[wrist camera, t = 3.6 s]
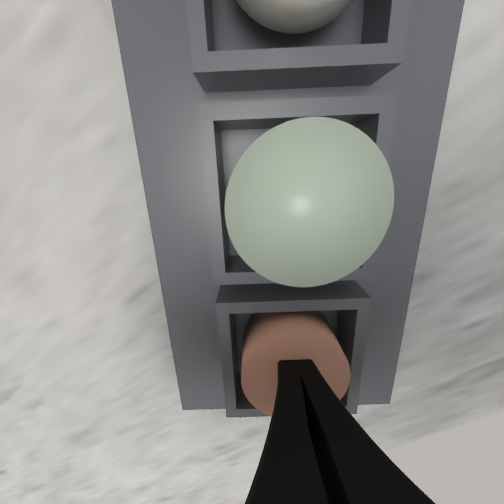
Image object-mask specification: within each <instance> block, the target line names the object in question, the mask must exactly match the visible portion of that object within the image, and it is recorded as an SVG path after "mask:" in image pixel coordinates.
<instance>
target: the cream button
mask: <svg viewBox="0 0 504 504" xmlns="http://www.w3.org/2000/svg"><path fill="white" fill-rule="evenodd" d="M353 1H354V0H236V2H237V3H238V4H239V6H240V7H241V8H242V9H243V10H244V11H245V12H246V13H247V14H248V15H249V16H250V17H251V18H252V19H254V20H255V21H256V22H257V23H259V24H261V25H262V26H264V27H266V28H268V29H271V30H274V31H276V32H281V33H286V34H299V33H306V32H310V31H313V30H316V29H319V28H321V27H323V26H325V25H327V24H328V23H330V22H331V21H333V20H335V19H336V18H337V17H338V16H339V15H341V14H342V13H343V12H344V11H345V10H346V9H347V8H348V7H349V6H350V4H351V3H352V2H353Z"/></svg>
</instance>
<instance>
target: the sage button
mask: <svg viewBox="0 0 504 504" xmlns="http://www.w3.org/2000/svg"><path fill="white" fill-rule="evenodd" d="M393 208H394V184H393V179H392V174H391V171H390V168H389V165H388V163H387V161H386V159H385V157H384V155H383V153H382V152H381V150H380V149H379V148H378V146H377V145H376V144H375V143H374V142H373V141H372V140H371V138H370V137H369V136H368V135H366V134H365V133H363V132H362V131H361V130H359V129H358V128H356V127H354V126H352V125H350V124H348V123H346V122H343V121H340V120H337V119H333V118H327V117H305V118H298V119H294V120H291V121H287V122H285V123H282V124H280V125H278V126H275V127H274V128H272V129H270V130H269V131H267V132H265V133H264V134H263V135H261V136H260V137H259V138H258V139H256V140H255V141H254V142H253V143H252V144H251V145H250V146H249V147H248V148H247V149H246V151H245V152H244V153H243V155H242V156H241V157H240V159H239V160H238V162H237V164H236V166H235V168H234V169H233V172H232V174H231V177H230V179H229V182H228V186H227V190H226V196H225V220H226V226H227V230H228V234H229V237H230V239H231V241H232V244H233V246H234V247H235V249H236V251H237V252H238V254H239V255H240V257H241V258H242V259H243V260H244V262H245V263H246V264H247V265H248V266H249V267H250V268H251V269H253V270H254V271H255V272H257V273H258V274H259V275H261V276H263V277H265V278H267V279H268V280H271V281H273V282H276V283H279V284H282V285H286V286H293V287H314V286H320V285H325V284H328V283H331V282H334V281H337V280H339V279H341V278H343V277H345V276H347V275H348V274H350V273H352V272H353V271H355V270H356V269H357V268H359V267H360V266H361V265H362V264H363V263H364V262H366V261H367V260H368V259H369V258H370V257H371V255H372V254H373V253H374V252H375V250H376V249H377V248H378V246H379V245H380V243H381V241H382V240H383V238H384V236H385V234H386V232H387V230H388V227H389V224H390V221H391V218H392V213H393Z"/></svg>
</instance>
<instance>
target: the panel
mask: <svg viewBox="0 0 504 504" xmlns="http://www.w3.org/2000/svg"><path fill="white" fill-rule="evenodd" d="M111 1H112V7H113V12H114V18H115V24H116V30H117V35H118V41H119V47H120V53H121V58H122V64H123V70H124V76H125V81H126V87H127V93H128V99H129V104H130V110H131V116H132V122H133V127H134V133H135V139H136V145H137V150H138V156H139V162H140V168H141V173H142V179H143V185H144V191H145V196H146V202H147V208H148V214H149V219H150V225H151V231H152V237H153V242H154V248H155V254H156V260H157V265H158V271H159V277H160V282H161V288H162V294H163V300H164V305H165V311H166V317H167V323H168V328H169V334H170V340H171V346H172V351H173V357H174V363H175V369H176V374H177V380H178V386H179V392H180V397H181V403H182V409H183V410H194V409H226V417H258V416H269V415H267V414H265V413H263V412H261V411H259V410H258V409H257V408H255V407H254V406H253V405H252V404H251V403H250V402H249V400H248V399H247V398H246V396H245V394H244V392H243V389H242V384H241V370H242V350H243V335H244V331H245V328H246V326H247V324H248V322H249V321H250V319H251V318H252V317H253V316H254V315H255V314H256V313H269V312H298V311H319V312H321V313H322V314H323V315H324V317H325V318H326V319H327V321H328V323H329V325H330V327H331V329H332V331H333V333H334V335H335V337H336V339H337V341H338V343H339V345H340V347H341V349H342V350H343V352H344V354H345V356H346V358H347V360H348V363H349V366H350V372H351V375H350V383H349V386H348V389H347V391H346V393H345V394H344V396H343V397H342V398H341V400H340V401H341V402H342V404H343V405H344V406H345V408H346V409H347V410H348V411H349V413H350V414H357V406H358V405H362V404H390V399H391V394H392V389H393V383H394V378H395V373H396V367H397V362H398V356H399V351H400V346H401V340H402V335H403V329H404V324H405V319H406V313H407V308H408V302H409V297H410V292H411V286H412V281H413V275H414V270H415V265H416V259H417V254H418V249H419V243H420V238H421V232H422V227H423V222H424V216H425V211H426V205H427V200H428V195H429V189H430V184H431V178H432V173H433V168H434V162H435V157H436V151H437V146H438V141H439V135H440V130H441V124H442V119H443V114H444V108H445V103H446V98H447V92H448V87H449V81H450V76H451V71H452V65H453V60H454V54H455V49H456V44H457V38H458V33H459V27H460V22H461V17H462V11H463V6H464V0H354V1H353V2H352V3H351V4H350V6H349V7H348V8H347V9H346V10H345V11H344V12H343V13H342V14H341V15H339V16H338V17H337V18H336V19H335V20H333V21H331V22H330V23H328V24H327V25H325V26H323V27H321V28H319V29H316V30H313V31H310V32H306V33H299V34H286V33H281V32H276V31H274V30H271V29H268V28H266V27H264V26H262V25H261V24H259V23H257V22H256V21H255V20H254V19H252V18H251V17H250V16H249V15H248V14H247V13H246V12H245V11H244V10H243V9H242V8H241V7H240V6H239V4H238V3H237V2H236V0H111ZM305 117H327V118H333V119H337V120H340V121H343V122H346V123H348V124H350V125H352V126H354V127H356V128H358V129H359V130H361V131H362V132H363V133H365V134H366V135H368V136H369V137H370V138H371V140H372V141H373V142H374V143H375V144H376V145H377V146H378V148H379V149H380V150H381V152H382V153H383V155H384V157H385V159H386V161H387V163H388V165H389V168H390V171H391V174H392V179H393V184H394V208H393V213H392V218H391V221H390V224H389V227H388V230H387V232H386V234H385V236H384V238H383V240H382V241H381V243H380V245H379V246H378V248H377V249H376V250H375V252H374V253H373V254H372V255H371V257H370V258H369V259H368V260H367V261H366V262H364V263H363V264H362V265H361V266H360V267H359V268H357V269H356V270H355V271H353V272H352V273H350V274H348V275H347V276H345V277H343V278H341V279H339V280H337V281H334V282H331V283H328V284H325V285H320V286H314V287H293V286H286V285H282V284H279V283H276V282H273V281H271V280H268V279H267V278H265V277H263V276H261V275H259V274H258V273H257V272H255V271H254V270H253V269H251V268H250V267H249V266H248V265H247V264H246V263H245V262H244V260H243V259H242V258H241V257H240V255H239V254H238V252H237V251H236V249H235V247H234V246H233V244H232V241H231V239H230V237H229V234H228V230H227V226H226V220H225V196H226V190H227V186H228V182H229V179H230V177H231V174H232V172H233V169H234V168H235V166H236V164H237V162H238V160H239V159H240V157H241V156H242V155H243V153H244V152H245V151H246V149H247V148H248V147H249V146H250V145H251V144H252V143H253V142H254V141H255V140H256V139H258V138H259V137H260V136H261V135H263V134H264V133H265V132H267V131H269V130H270V129H272V128H274V127H275V126H278V125H280V124H282V123H285V122H287V121H291V120H294V119H298V118H305Z"/></svg>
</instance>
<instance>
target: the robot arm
mask: <svg viewBox="0 0 504 504" xmlns="http://www.w3.org/2000/svg"><path fill="white" fill-rule="evenodd" d="M245 504H435V503H434V502H433V501H432V500H431V499H430V498H429V497H428V496H427V495H425V494H424V492H422V491H421V490H420V489H419V488H418V487H417V486H416V485H415V484H414V483H413V482H412V481H411V480H410V479H409V478H408V477H407V476H406V475H405V474H404V473H403V472H402V471H401V470H400V469H399V468H398V467H397V466H396V465H395V464H394V463H393V462H392V461H391V460H390V459H389V457H388V456H387V455H386V454H385V453H384V452H383V451H382V450H381V449H380V448H379V447H378V446H377V445H376V443H375V442H374V441H373V440H372V439H371V438H370V437H369V435H368V434H367V433H366V432H365V431H364V430H363V428H362V427H361V426H360V425H359V424H358V422H357V421H356V420H355V419H354V418H353V416H352V415H351V414H350V413H349V411H348V410H347V409H346V408H345V406H344V405H343V404H342V402H341V401H340V400H339V398H338V397H337V396H336V394H335V393H334V392H333V390H332V389H331V387H330V386H329V385H328V383H327V382H326V380H325V379H324V377H323V376H322V374H321V373H320V371H319V370H318V368H317V367H316V365H315V363H314V362H313V361H312V360H311V359H300V360H280V361H279V362H278V384H277V392H276V398H275V404H274V409H273V414H272V418H271V422H270V427H269V431H268V435H267V438H266V442H265V445H264V449H263V452H262V455H261V459H260V462H259V465H258V468H257V471H256V474H255V477H254V480H253V483H252V485H251V488H250V491H249V494H248V497H247V499H246V502H245Z"/></svg>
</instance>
